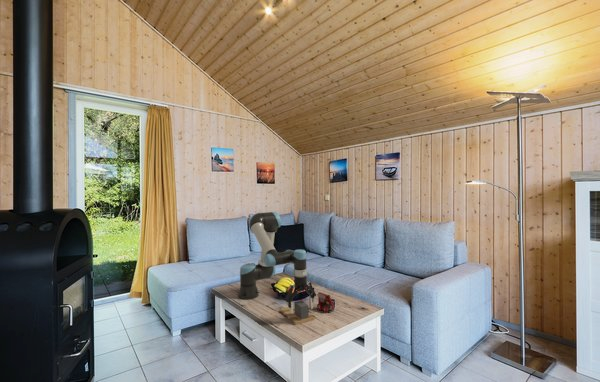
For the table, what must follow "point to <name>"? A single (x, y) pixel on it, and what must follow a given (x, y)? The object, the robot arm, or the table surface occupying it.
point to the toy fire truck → (324, 302)
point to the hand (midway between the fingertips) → (301, 310)
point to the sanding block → (301, 310)
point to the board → (293, 318)
